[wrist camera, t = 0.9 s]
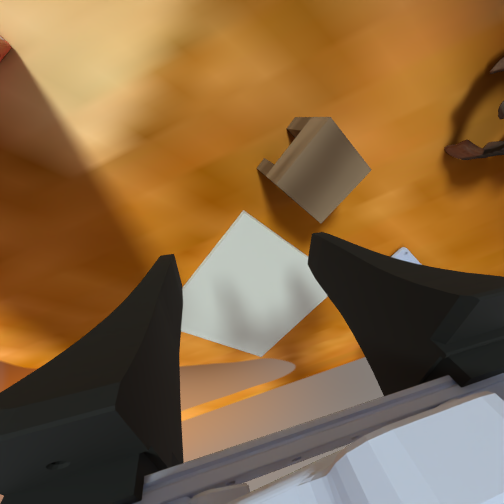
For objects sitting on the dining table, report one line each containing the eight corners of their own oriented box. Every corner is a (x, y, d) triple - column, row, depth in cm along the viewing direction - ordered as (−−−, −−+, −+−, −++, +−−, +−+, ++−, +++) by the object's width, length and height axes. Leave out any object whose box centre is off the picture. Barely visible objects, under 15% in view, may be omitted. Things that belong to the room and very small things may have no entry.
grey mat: (340, 279, 28) (342, 282, 27) (260, 353, 32) (261, 356, 32) (243, 210, 20) (244, 212, 20) (157, 319, 25) (156, 323, 24)
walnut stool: (330, 157, 19) (371, 170, 15) (294, 200, 21) (321, 223, 16) (295, 117, 17) (330, 116, 13) (256, 168, 19) (275, 184, 14)
